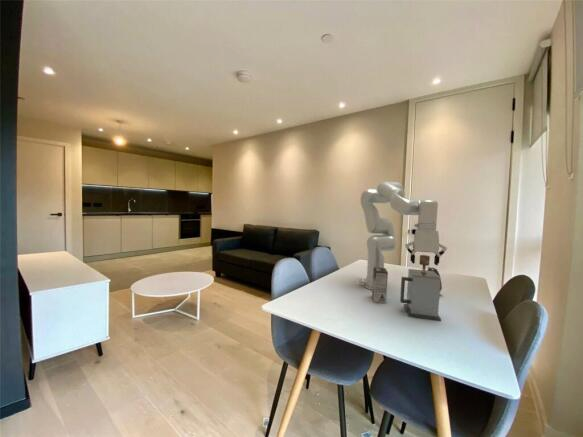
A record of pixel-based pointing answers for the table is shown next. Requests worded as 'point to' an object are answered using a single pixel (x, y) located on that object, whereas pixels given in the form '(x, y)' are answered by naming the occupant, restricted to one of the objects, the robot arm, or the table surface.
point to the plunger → (424, 262)
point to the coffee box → (379, 285)
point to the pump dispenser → (437, 274)
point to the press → (421, 294)
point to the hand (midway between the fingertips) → (424, 263)
